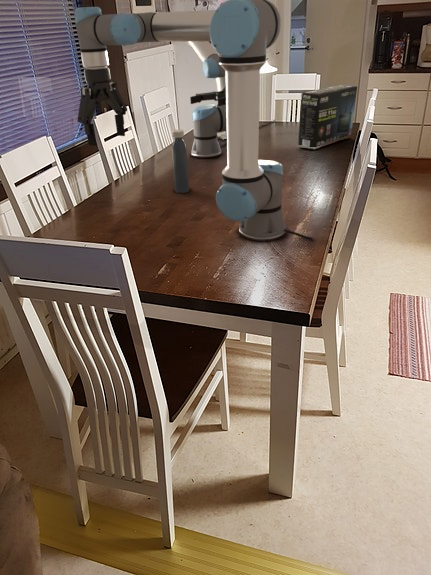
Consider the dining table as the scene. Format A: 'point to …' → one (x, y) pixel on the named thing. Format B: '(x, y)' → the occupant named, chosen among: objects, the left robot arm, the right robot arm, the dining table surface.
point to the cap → (177, 133)
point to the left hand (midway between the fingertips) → (204, 101)
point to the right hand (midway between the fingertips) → (107, 140)
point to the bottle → (180, 165)
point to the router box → (326, 115)
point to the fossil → (222, 135)
